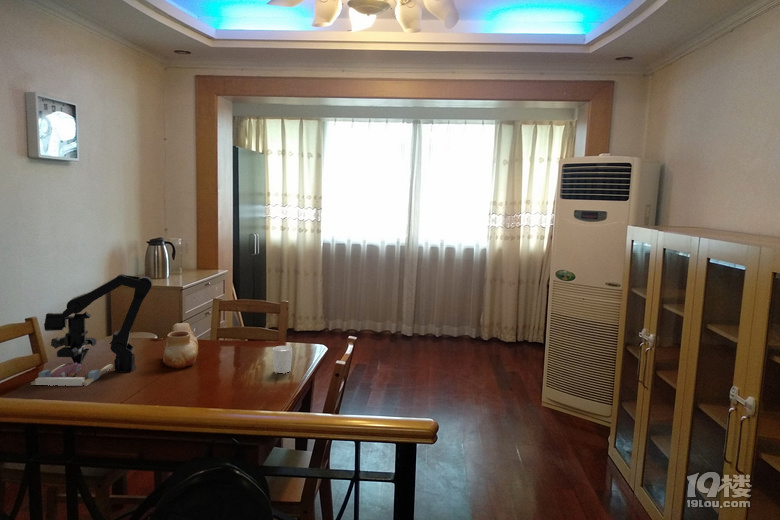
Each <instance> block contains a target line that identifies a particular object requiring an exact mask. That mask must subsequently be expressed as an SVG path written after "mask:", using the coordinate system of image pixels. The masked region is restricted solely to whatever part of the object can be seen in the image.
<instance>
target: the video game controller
mask: <svg viewBox="0 0 780 520" xmlns="http://www.w3.org/2000/svg"><path fill="white" fill-rule="evenodd" d="M64 364H65V365H63V364H62V365H63V366H61V365H59V366H60V367H59V366H58V367H59V368H58V367H56V368H57V369H56V368H55V369H56V370H55V371H54V372H53V373H52V374H51V375H50V377H73V376H75V375H76V374H77V373H79V372H80V371H81V369H82V366H83V365H82V364H81V365H80V364H79V363H77V362H75V363H74V362H68V363H64Z"/></svg>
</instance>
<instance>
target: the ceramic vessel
mask: <svg viewBox="0 0 780 520" xmlns="http://www.w3.org/2000/svg"><path fill="white" fill-rule="evenodd" d="M171 329H172V330H171V332H169V333H168V334H166V335H167V339H166V340H167V341H166V343H165V348H164V350H163V357H162V358H163V359H162V362H163V363H164V366H165V367H168V368H174V369H184V367H185V368H186V366H187V367H189V366H193V365H195V363H196V359H197V356H198V355H199V354H198V353H199V342H198V338H197V337H196V336H195V334H194V332H193V331H192V329H191V325H190V324H189V323H187V322H182V323H175V324H174V325H173V326H172V328H171Z"/></svg>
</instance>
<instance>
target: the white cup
mask: <svg viewBox="0 0 780 520" xmlns="http://www.w3.org/2000/svg"><path fill="white" fill-rule="evenodd" d="M292 353H293V347H292V346H288V345H278V346H274V347H273V348H272V361H273V364H272V365H273V372H274V371H275V372H279V373H283V372H289V371H290V372H291V369H292V367H291V366H292V359H293V358H292V357H293V354H292ZM290 372H289V373H290Z"/></svg>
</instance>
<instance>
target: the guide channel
mask: <svg viewBox="0 0 780 520" xmlns="http://www.w3.org/2000/svg"><path fill="white" fill-rule="evenodd" d="M65 364H66V363H64V364H62V365H59V366H57V367H56V368H54V369H52V370H51V369H44V370H42V371H39V372H38V377H37V378H35V379H34V380H33V381H31V382H30V386H31V385H48V386H47V387H49V385H50V386H51V387H52V386H53V385H54V387H55V385H58V386H59V387H60V386H61V387H62V386H63V387H65V385H66V386H67V387H68V386H69V387H73V386H75V387H76V386H79V387H80V386H83V385H84V387H86V386H87V387H88V385H90V384H91V383H93V382H95V381H96V380H97V379H99V378H100V377H102V374H103V375H104V374H105V373H106V371H107V372H108V371H110V370H111V369H113V368H114V363H113V364H112V363H110V364H107V365H105V366H104V367H103V368H101V369H92V370H90V371H89V372H88V373H87V375H88V376H87V379H86V377H85V376H84V377H83V376H75V377H73V376H72V377H70V376H67V377H50V375H51V374H52V373H53V372H54V371H55V370H56V369H57V368H59V367H60V366H63V365H65ZM109 369H110V370H109Z"/></svg>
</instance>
